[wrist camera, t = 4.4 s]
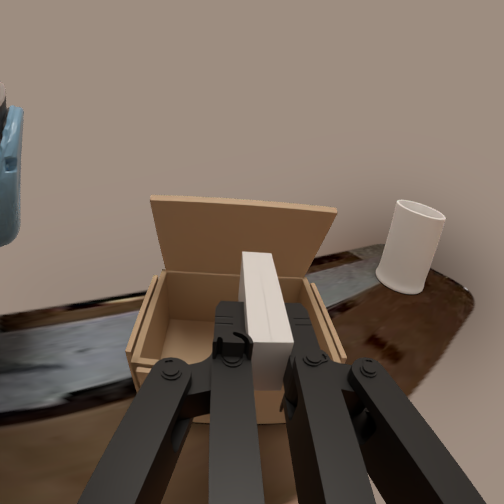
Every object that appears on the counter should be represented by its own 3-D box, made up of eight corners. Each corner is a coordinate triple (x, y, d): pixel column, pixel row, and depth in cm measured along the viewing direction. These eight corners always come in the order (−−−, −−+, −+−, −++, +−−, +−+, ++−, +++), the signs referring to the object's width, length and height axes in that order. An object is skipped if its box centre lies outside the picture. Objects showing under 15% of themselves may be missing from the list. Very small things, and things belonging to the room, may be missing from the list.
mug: (408, 262, 49) (426, 200, 44) (441, 285, 42) (465, 219, 37) (364, 270, 44) (383, 197, 39) (401, 299, 37) (428, 220, 32)
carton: (135, 416, 19) (119, 368, 16) (160, 317, 30) (156, 268, 27) (329, 419, 20) (354, 373, 18) (301, 323, 32) (312, 276, 29)
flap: (166, 270, 27) (149, 200, 19) (166, 264, 27) (151, 193, 19) (303, 277, 28) (337, 213, 20) (302, 272, 28) (335, 206, 21)
